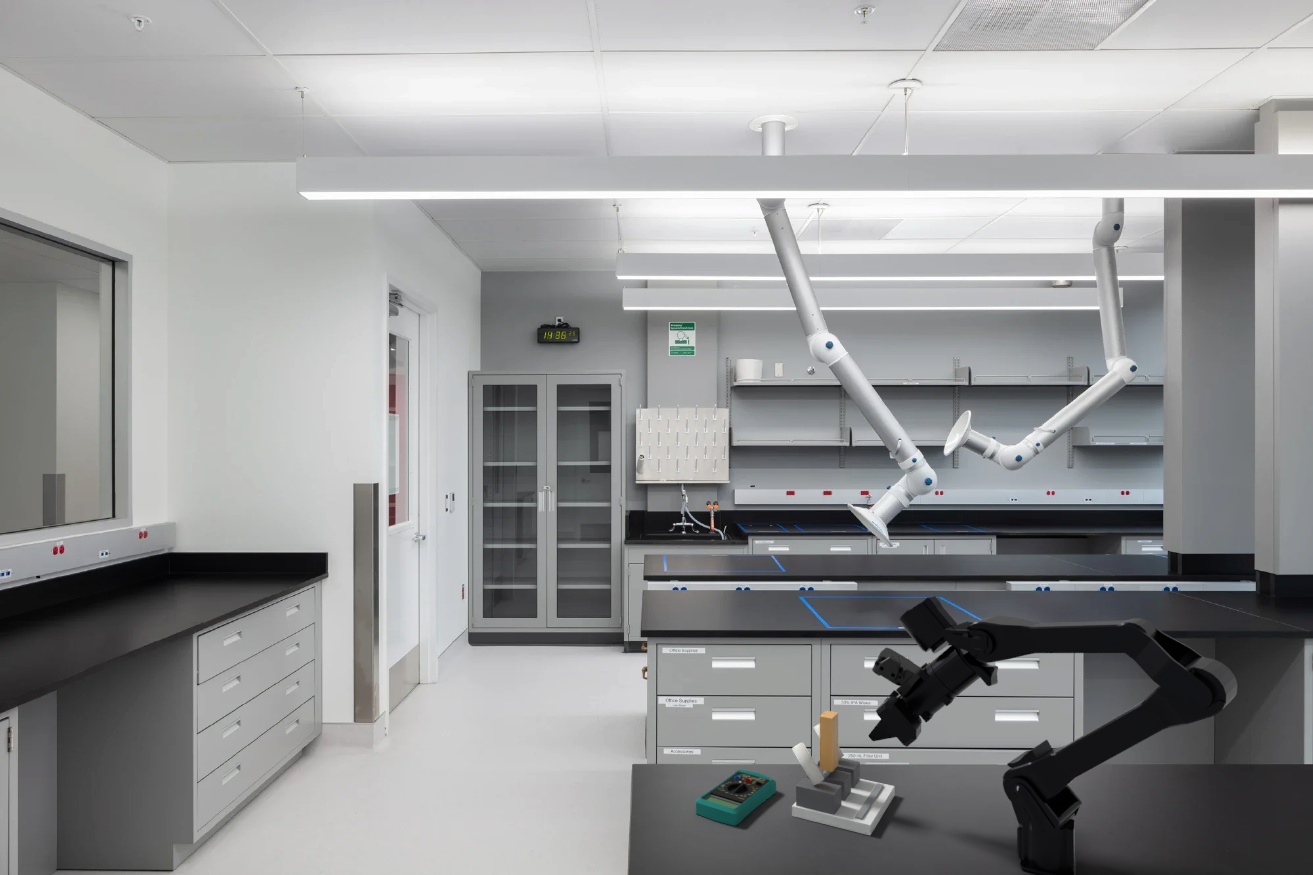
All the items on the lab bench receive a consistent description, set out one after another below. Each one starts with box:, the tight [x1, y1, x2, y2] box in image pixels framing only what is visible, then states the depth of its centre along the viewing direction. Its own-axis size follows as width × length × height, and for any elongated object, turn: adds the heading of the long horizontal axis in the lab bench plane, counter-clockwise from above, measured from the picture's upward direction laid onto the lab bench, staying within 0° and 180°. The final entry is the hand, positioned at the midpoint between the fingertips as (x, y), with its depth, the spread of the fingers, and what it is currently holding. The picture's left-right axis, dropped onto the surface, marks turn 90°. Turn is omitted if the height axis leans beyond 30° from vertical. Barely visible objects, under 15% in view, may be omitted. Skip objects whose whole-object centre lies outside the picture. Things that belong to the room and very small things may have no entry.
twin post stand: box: [791, 723, 896, 836], centre depth 123 cm, size 13×15×11 cm
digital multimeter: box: [694, 769, 777, 827], centre depth 124 cm, size 7×15×3 cm, turn 146°
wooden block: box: [819, 710, 839, 777], centre depth 124 cm, size 2×4×9 cm, turn 150°
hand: (871, 737), depth 121 cm, fingers closed
